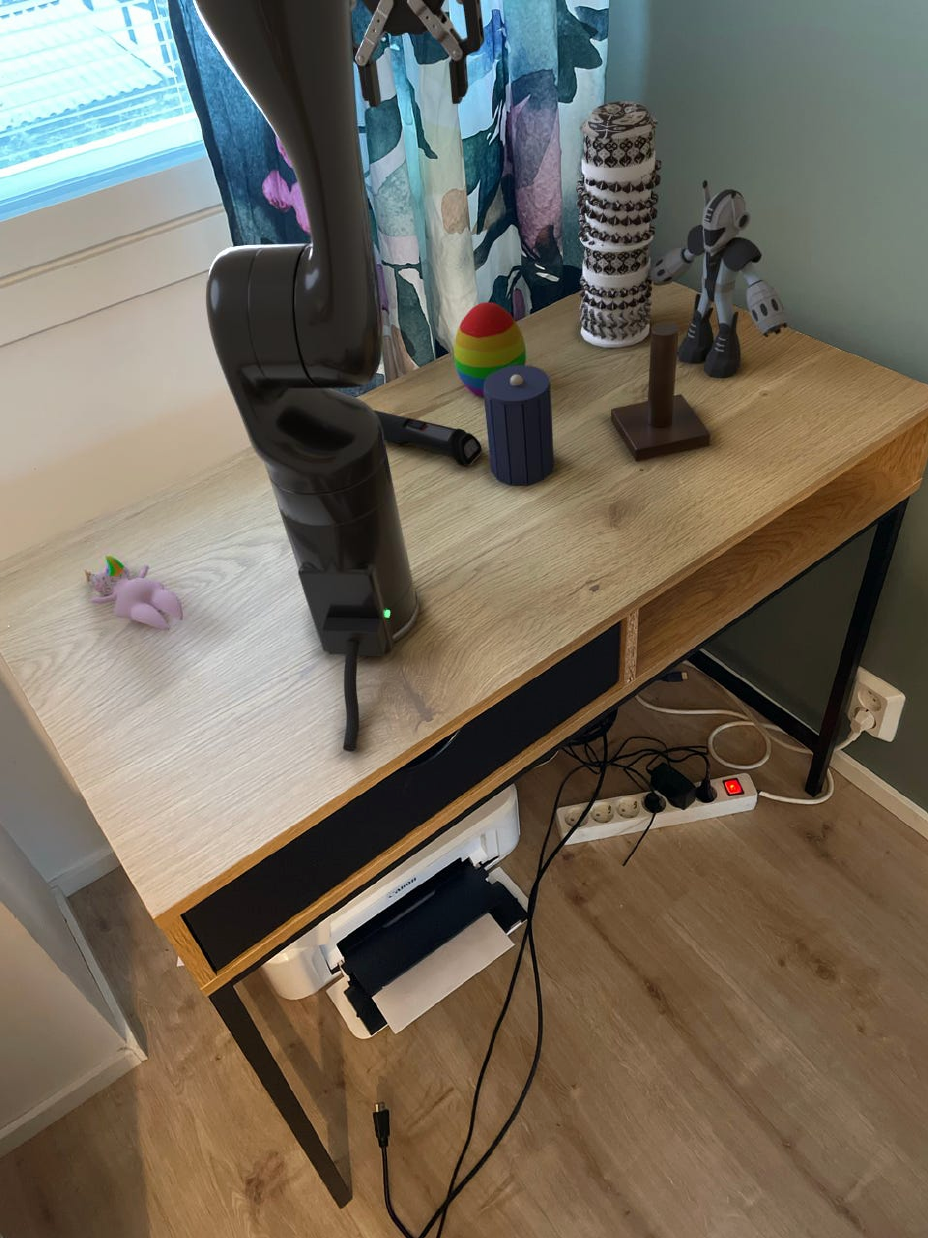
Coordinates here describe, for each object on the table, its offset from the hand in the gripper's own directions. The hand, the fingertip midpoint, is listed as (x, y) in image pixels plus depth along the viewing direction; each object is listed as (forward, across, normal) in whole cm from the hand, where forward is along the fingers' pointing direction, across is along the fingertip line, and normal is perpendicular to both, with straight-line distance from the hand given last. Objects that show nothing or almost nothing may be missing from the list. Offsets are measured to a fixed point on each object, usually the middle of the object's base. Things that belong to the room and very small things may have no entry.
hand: (416, 103), depth 90 cm
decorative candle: (+28, +20, +8) cm, 36 cm away
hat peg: (+29, +26, -14) cm, 41 cm away
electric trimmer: (+29, 0, -17) cm, 34 cm away
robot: (+28, +31, 0) cm, 42 cm away
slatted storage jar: (+29, +12, -21) cm, 38 cm away
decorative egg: (+29, +7, -5) cm, 30 cm away
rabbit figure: (+31, -21, -44) cm, 58 cm away
